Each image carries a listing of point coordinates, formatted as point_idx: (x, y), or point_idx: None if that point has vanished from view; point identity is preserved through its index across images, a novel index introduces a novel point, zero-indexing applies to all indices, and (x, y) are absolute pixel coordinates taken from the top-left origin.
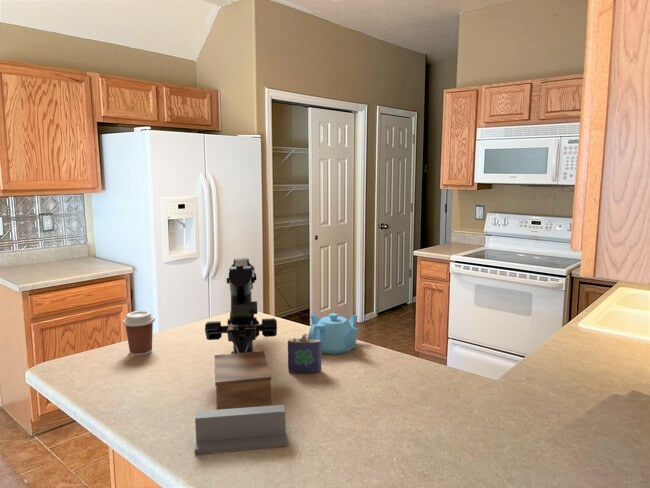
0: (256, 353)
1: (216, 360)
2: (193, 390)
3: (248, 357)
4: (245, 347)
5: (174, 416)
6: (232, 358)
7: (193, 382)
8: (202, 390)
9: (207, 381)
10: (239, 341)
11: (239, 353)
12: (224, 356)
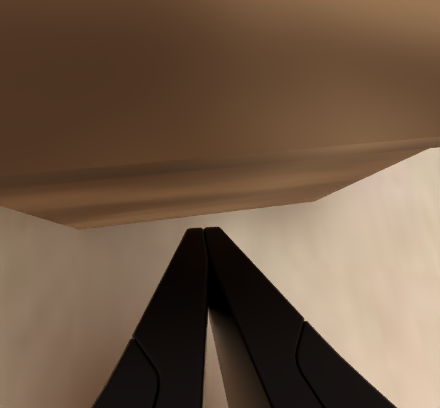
0: (9, 110)
1: (432, 1)
2: (411, 199)
3: (118, 10)
4: (160, 299)
5: None
6: (292, 16)
7: (437, 288)
8: (373, 194)
9: (375, 294)
10: (281, 386)
11: (232, 143)
12: (383, 85)
